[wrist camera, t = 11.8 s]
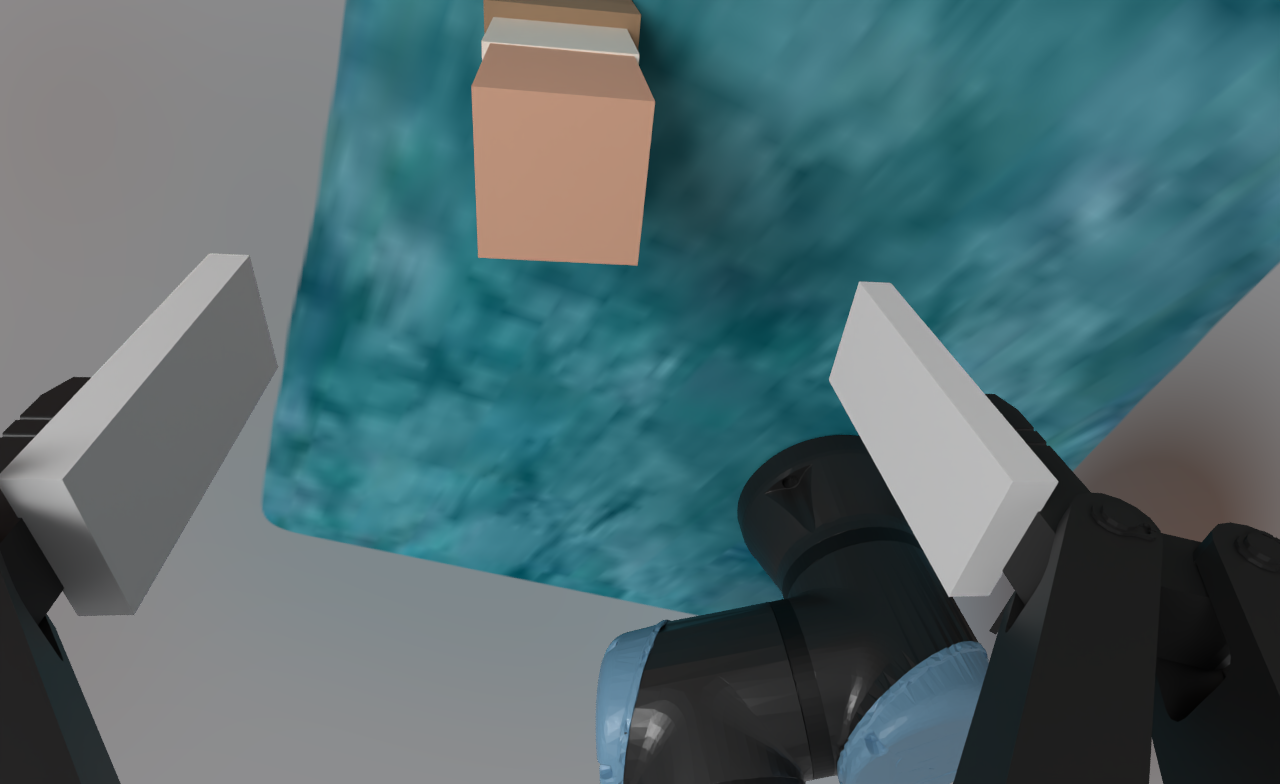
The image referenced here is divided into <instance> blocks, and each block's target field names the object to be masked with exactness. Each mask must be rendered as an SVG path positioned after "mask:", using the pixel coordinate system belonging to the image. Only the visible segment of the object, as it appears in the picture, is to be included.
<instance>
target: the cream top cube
mask: <svg viewBox="0 0 1280 784" xmlns="http://www.w3.org/2000/svg"><path fill="white" fill-rule="evenodd" d="M490 43H495V44H506V45H517V46H528V47H539V48H550V49H561V50H571V51H582V52H593V53H604V54H615V55H626V56H635V58H636V61H637V63H638V65H639V55H640V54H639V52H638V50H637V48H636V46H635V44H634V42H633V40H632V38H631V36H630V34H629V32H628V30H627V29H623V28H612V27H601V26H590V25H578V24H567V23H556V22H545V21H533V20H522V19H511V18H500V17H493V19H492V21H491V23H490V25H489V27H488V29H487V31H486V33H485V35H484V37H483V39H482V61H483V58H484V56H485V54H486V51H487V49H488V47H489V44H490Z"/></svg>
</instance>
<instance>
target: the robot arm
mask: <svg viewBox="0 0 1280 784" xmlns="http://www.w3.org/2000/svg"><path fill="white" fill-rule="evenodd" d="M277 368H278V365H277V362H276V358H275V354H274V350H273V346H272V342H271V338H270V334H269V330H268V326H267V322H266V319H265V314H264V310H263V306H262V303H261V298H260V295H259V291H258V287H257V283H256V279H255V275H254V271H253V267H252V263H251V259H250V256H249V255H233V254H208V255H207V256H206V257H205V259H204V260H203V261H202V262H201V263H200V264H199V265H198V266H197V267H196V268H195V269H194V270H193V271H192V272H191V273H190V274H189V275H188V276H187V277H186V279H185V280H184V281H183V282H182V283H181V284H180V285H179V286H178V287H177V288H176V289H175V290H174V291H173V292H172V293H171V294H170V295H169V296H168V298H167V299H166V300H165V301H164V302H163V303H162V304H161V305H160V306H159V307H158V308H157V309H156V310H155V311H154V312H153V313H152V314H151V315H150V316H149V317H148V318H147V320H146V321H145V322H144V323H143V324H142V325H141V326H140V327H139V328H138V329H137V330H136V331H135V332H134V333H133V334H132V335H131V337H129V338H128V340H127V341H126V342H125V343H124V344H123V345H122V346H121V347H120V348H119V349H118V350H117V351H116V352H115V353H114V354H113V355H112V356H111V357H110V359H109V360H108V361H107V362H106V363H105V364H104V365H103V366H102V367H101V368H100V369H99V370H98V371H97V372H96V373H95V374H94V375H93V376H92V377H91V378H90V377H73V378H71V379H69V380H67V381H65V382H64V383H62V384H60V385H58V386H56V387H55V388H53V389H51V390H49V391H48V392H46V393H44V394H42V395H41V396H40V397H39V398H38V399H37V400H36V401H35V402H34V403H33V404H32V405H31V406H30V407H29V408H28V409H26V410H25V412H24V413H23V414H21V415H20V420H15V422H13V423H12V424H11V425H10V426H9V427H8V428H7V429H6V430H5V431H4V432H3V437H2V438H0V784H120V781H119V779H118V776H117V774H116V772H115V769H114V767H113V764H112V762H111V760H110V757H109V755H108V753H107V750H106V748H105V745H104V743H103V741H102V738H101V736H100V733H99V731H98V729H97V726H96V724H95V721H94V719H93V717H92V714H91V712H90V709H89V707H88V705H87V702H86V700H85V698H84V695H83V693H82V690H81V688H80V686H79V683H78V681H77V678H76V676H75V674H74V671H73V669H72V666H71V664H70V662H69V659H68V657H67V655H66V652H65V650H64V648H63V645H62V642H61V640H60V638H59V635H58V633H57V631H56V628H55V626H54V625H53V623H52V622H51V620H50V619H49V617H48V615H47V614H46V613H47V612H48V611H49V609H50V608H51V606H52V605H53V603H54V602H55V601H56V599H57V598H58V596H59V595H60V593H61V592H62V591H63V592H64V594H65V595H66V597H67V599H68V600H69V602H70V604H71V605H72V607H73V608H74V610H75V612H76V613H77V615H78V616H97V615H134V614H135V612H136V611H137V609H138V607H139V605H140V604H141V602H142V600H143V598H144V597H145V595H146V594H147V592H148V590H149V588H150V587H151V584H152V583H153V581H154V580H155V578H156V576H157V575H158V573H159V571H160V569H161V568H162V566H163V564H164V562H165V561H166V559H167V557H168V556H169V554H170V552H171V550H172V549H173V547H174V545H175V544H176V542H177V540H178V538H179V537H180V535H181V533H182V532H183V530H184V528H185V526H186V525H187V523H188V521H189V519H190V518H191V516H192V514H193V513H194V511H195V509H196V507H197V506H198V504H199V502H200V501H201V499H202V497H203V495H204V494H205V492H206V490H207V489H208V487H209V485H210V483H211V482H212V480H213V478H214V476H215V475H216V473H217V471H218V470H219V468H220V466H221V464H222V463H223V461H224V459H225V457H226V456H227V454H228V452H229V450H230V449H231V447H232V446H233V444H234V442H235V440H236V439H237V437H238V435H239V433H240V432H241V430H242V428H243V427H244V425H245V423H246V421H247V420H248V418H249V416H250V415H251V413H252V411H253V409H254V408H255V406H256V404H257V403H258V401H259V399H260V397H261V396H262V394H263V392H264V390H265V389H266V387H267V385H268V384H269V382H270V380H271V378H272V377H273V375H274V373H275V372H276V370H277ZM829 381H830V383H831V385H832V387H833V388H834V390H835V392H836V394H837V396H838V397H839V399H840V401H841V403H842V405H843V407H844V408H845V410H846V412H847V414H848V416H849V417H850V419H851V421H852V423H853V425H854V426H855V428H856V430H857V432H858V434H859V435H860V436H852V435H833V436H825V437H819V438H815V439H811V440H807V441H804V442H801V443H799V444H796V445H794V446H791V447H789V448H787V449H785V450H783V451H782V452H780V453H778V454H777V455H775V456H773V457H772V458H771V459H769V460H768V461H767V462H765V463H764V464H763V465H762V466H761V467H760V468H759V469H758V470H757V471H756V472H755V473H754V474H753V475H752V476H751V478H750V479H749V480H748V482H747V483H746V485H745V487H744V489H743V491H742V493H741V495H740V499H739V502H738V510H737V511H738V521H739V524H740V528H741V531H742V535H743V538H744V541H745V543H746V545H747V547H748V549H749V551H750V552H751V554H752V555H753V556H754V557H755V558H756V559H757V561H758V562H759V563H760V565H761V566H762V567H763V569H764V570H765V571H766V573H767V574H768V575H769V577H770V578H771V579H772V580H773V582H774V583H775V584H776V585H777V587H778V588H779V589H780V590H781V592H782V594H783V597H784V599H782V600H778V601H773V602H766V603H761V604H756V605H751V606H747V607H742V608H737V609H732V610H727V611H722V612H717V613H712V614H706V615H701V616H696V617H690V618H685V619H679V620H674V621H670V620H663V621H661V622H659V623H658V624H657V625H654V626H650V627H647V628H643V629H639V630H634V631H631V632H627V633H624V634H622V635H620V636H618V637H617V638H616V639H614V640H613V641H612V643H611V644H610V645H609V647H608V648H607V650H606V653H605V655H604V658H603V661H602V664H601V669H600V674H599V680H598V688H597V700H596V749H597V760H598V762H599V763H600V784H805V782H806V781H810V780H814V779H818V778H824V777H829V776H835V775H837V776H838V779H839V782H840V784H950V783H952V782H953V784H1149V773H1150V757H1151V739H1153V744H1154V748H1155V752H1156V756H1157V760H1158V764H1159V768H1160V772H1161V776H1162V780H1163V784H1280V539H1278V538H1274V537H1273V536H1272V535H1270V534H1268V533H1266V532H1264V531H1260V530H1257V529H1254V528H1252V527H1249V526H1247V525H1241V524H1235V523H1224V524H1218V525H1217V526H1216V527H1215V528H1214V529H1213V530H1212V531H1211V532H1210V533H1209V534H1208V536H1207V537H1206V538H1205V539H1204V540H1203V542H1198V541H1193V540H1188V539H1184V538H1180V537H1176V536H1171V535H1167V534H1163V533H1161V532H1160V530H1159V528H1158V527H1157V526H1156V525H1155V523H1154V522H1153V521H1152V520H1151V519H1150V518H1149V517H1148V516H1147V515H1145V514H1144V513H1143V512H1141V511H1140V510H1139V509H1138V508H1136V507H1134V506H1132V505H1130V504H1128V503H1127V502H1125V501H1123V500H1121V499H1118V498H1115V497H1112V496H1109V495H1106V494H1102V493H1091V492H1090V491H1089V490H1088V489H1087V488H1086V486H1085V485H1084V484H1083V483H1082V482H1081V481H1080V480H1079V478H1078V477H1077V476H1076V475H1075V474H1074V473H1073V472H1072V471H1071V469H1070V468H1069V467H1068V466H1067V465H1066V464H1065V463H1064V461H1063V460H1062V459H1061V458H1060V457H1059V456H1058V455H1057V454H1056V452H1055V451H1054V450H1053V449H1052V448H1051V447H1050V446H1046V441H1045V440H1044V439H1043V438H1042V437H1041V435H1040V434H1039V433H1038V432H1037V431H1034V430H1033V429H1034V428H1033V426H1032V425H1031V424H1030V423H1029V422H1028V421H1027V420H1026V418H1025V417H1024V416H1023V415H1022V414H1021V413H1020V412H1019V411H1018V410H1017V409H1016V408H1014V407H1013V406H1011V405H1010V404H1008V403H1007V402H1005V401H1004V400H1003V399H1001V398H1000V397H998V396H997V395H995V394H984V393H983V392H982V390H981V389H980V388H979V387H978V386H977V385H976V383H975V382H974V381H973V380H972V379H971V377H970V376H969V375H968V374H967V373H966V372H965V370H964V369H963V368H962V367H961V366H960V364H959V363H958V362H957V361H956V360H955V359H954V357H953V356H952V355H951V354H950V353H949V351H948V350H947V349H946V348H945V347H944V346H943V344H942V343H941V342H940V341H939V340H938V338H937V337H936V336H935V335H934V334H933V332H932V331H931V330H930V329H929V328H928V327H927V325H926V324H925V323H924V322H923V321H922V319H921V318H920V317H919V316H918V315H917V314H916V312H915V311H914V310H913V309H912V308H911V306H910V305H909V304H908V303H907V302H906V301H905V299H904V298H903V297H902V296H901V295H900V293H899V292H898V291H897V290H896V289H895V288H894V286H893V285H892V284H891V283H880V282H859V284H858V287H857V290H856V294H855V297H854V300H853V303H852V307H851V310H850V313H849V316H848V319H847V323H846V326H845V329H844V332H843V336H842V339H841V342H840V345H839V349H838V352H837V355H836V358H835V361H834V365H833V368H832V371H831V374H830V378H829ZM1003 573H1004V574H1005V576H1006V577H1007V579H1008V580H1009V582H1010V583H1011V585H1012V586H1013V588H1014V589H1015V592H1014V593H1013V595H1012V596H1011V598H1010V599H1009V601H1008V603H1007V604H1006V606H1005V607H1004V609H1003V610H1002V612H1001V613H1000V615H999V617H998V618H997V620H996V621H995V623H994V624H993V626H992V628H991V629H990V632H992V633H994V634H996V633H997V632H998V634H997V638H996V641H995V645H994V648H993V651H992V655H991V658H990V662H989V663H988V658H987V653H986V650H985V649H984V648H983V647H982V645H981V644H980V643H978V641H977V639H976V637H975V636H974V634H973V632H972V630H971V629H970V627H969V625H968V623H967V622H966V620H965V618H964V616H963V615H962V613H961V611H960V609H959V608H958V606H957V604H956V602H955V600H954V599H953V597H964V596H989V595H990V594H991V592H992V590H993V589H994V587H995V585H996V584H997V582H998V580H999V579H1000V577H1001V576H1002V574H1003Z"/></svg>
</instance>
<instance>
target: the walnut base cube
mask: <svg viewBox="0 0 1280 784" xmlns="http://www.w3.org/2000/svg"><path fill="white" fill-rule="evenodd" d="M493 17H500V18H511V19H522V20H533V21H545V22H556V23H567V24H578V25H590V26H601V27H612V28H623V29H627V30H628V32H629V34H630V36H631V38H632V40H633V42H634V44H635V46H636V48H637V50H638V45H639V33H640V22H641V14H640V12H639V11H638V9H637V8H636V6H635V5H634V3H633V2H632V0H484V29H485V33H486V31H487V29H488V27H489V25H490V23H491V21H492V19H493Z"/></svg>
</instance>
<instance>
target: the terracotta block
mask: <svg viewBox="0 0 1280 784" xmlns="http://www.w3.org/2000/svg"><path fill="white" fill-rule="evenodd" d="M654 107H655V100H654V98H653V96H652V94H651V91H650V89H649V87H648V85H647V83H646V80H645V78H644V76H643V74H642V72H641V69H640V67H639V65H638V63H637V61H636V58H635V56H626V55H615V54H604V53H593V52H582V51H571V50H561V49H550V48H539V47H528V46H517V45H506V44H495V43H490V44H489V47H488V49H487V51H486V54H485V56H484V58H483V61H482V63H481V65H480V68H479V70H478V72H477V75H476V77H475V79H474V82H473V84H472V110H473V136H474V161H475V186H476V212H477V237H478V258H498V259H518V260H538V261H558V262H578V263H598V264H618V265H638V256H639V247H640V238H641V229H642V219H643V210H644V201H645V191H646V182H647V173H648V163H649V154H650V145H651V135H652V126H653V117H654Z"/></svg>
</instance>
